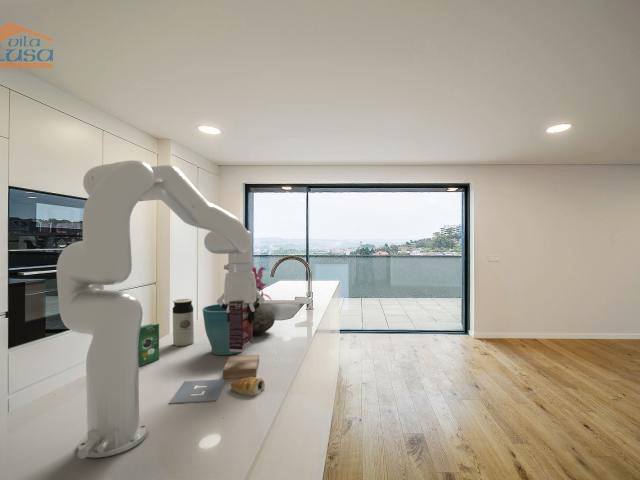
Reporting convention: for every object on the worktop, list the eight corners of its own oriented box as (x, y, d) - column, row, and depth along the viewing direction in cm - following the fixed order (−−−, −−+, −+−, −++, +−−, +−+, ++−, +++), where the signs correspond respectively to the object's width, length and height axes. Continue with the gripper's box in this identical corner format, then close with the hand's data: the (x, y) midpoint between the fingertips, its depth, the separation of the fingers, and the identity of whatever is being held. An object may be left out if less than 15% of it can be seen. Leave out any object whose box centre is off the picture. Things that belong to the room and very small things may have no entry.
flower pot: (193, 357, 128) (192, 310, 128) (218, 342, 145) (217, 301, 145) (238, 360, 124) (237, 312, 124) (259, 345, 141) (258, 303, 141)
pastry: (225, 394, 97) (225, 380, 97) (238, 384, 103) (238, 371, 103) (256, 397, 94) (256, 383, 94) (267, 387, 101) (267, 374, 101)
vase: (230, 337, 153) (228, 268, 153) (249, 327, 170) (248, 265, 170) (265, 339, 149) (263, 268, 149) (281, 329, 165) (280, 265, 165)
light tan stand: (256, 376, 108) (255, 368, 108) (222, 378, 107) (222, 370, 107) (259, 362, 121) (259, 354, 121) (229, 363, 120) (229, 356, 120)
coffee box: (154, 358, 127) (153, 322, 127) (160, 359, 126) (159, 322, 126) (134, 365, 120) (134, 327, 120) (140, 366, 119) (140, 328, 119)
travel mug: (174, 341, 148) (173, 299, 148) (194, 339, 151) (193, 297, 151) (172, 347, 141) (171, 302, 141) (193, 345, 143) (192, 300, 143)
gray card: (216, 401, 92) (216, 399, 92) (168, 403, 91) (168, 402, 91) (225, 380, 106) (225, 379, 106) (184, 382, 105) (184, 381, 105)
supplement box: (243, 352, 110) (242, 301, 110) (229, 352, 111) (227, 301, 111) (253, 344, 118) (252, 297, 118) (240, 343, 119) (239, 297, 119)
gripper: (210, 270, 110) (211, 327, 110) (266, 268, 112) (267, 325, 112) (215, 268, 117) (216, 322, 117) (267, 266, 119) (268, 320, 119)
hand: (241, 323), depth 114 cm, fingers closed on supplement box, 5 cm apart
